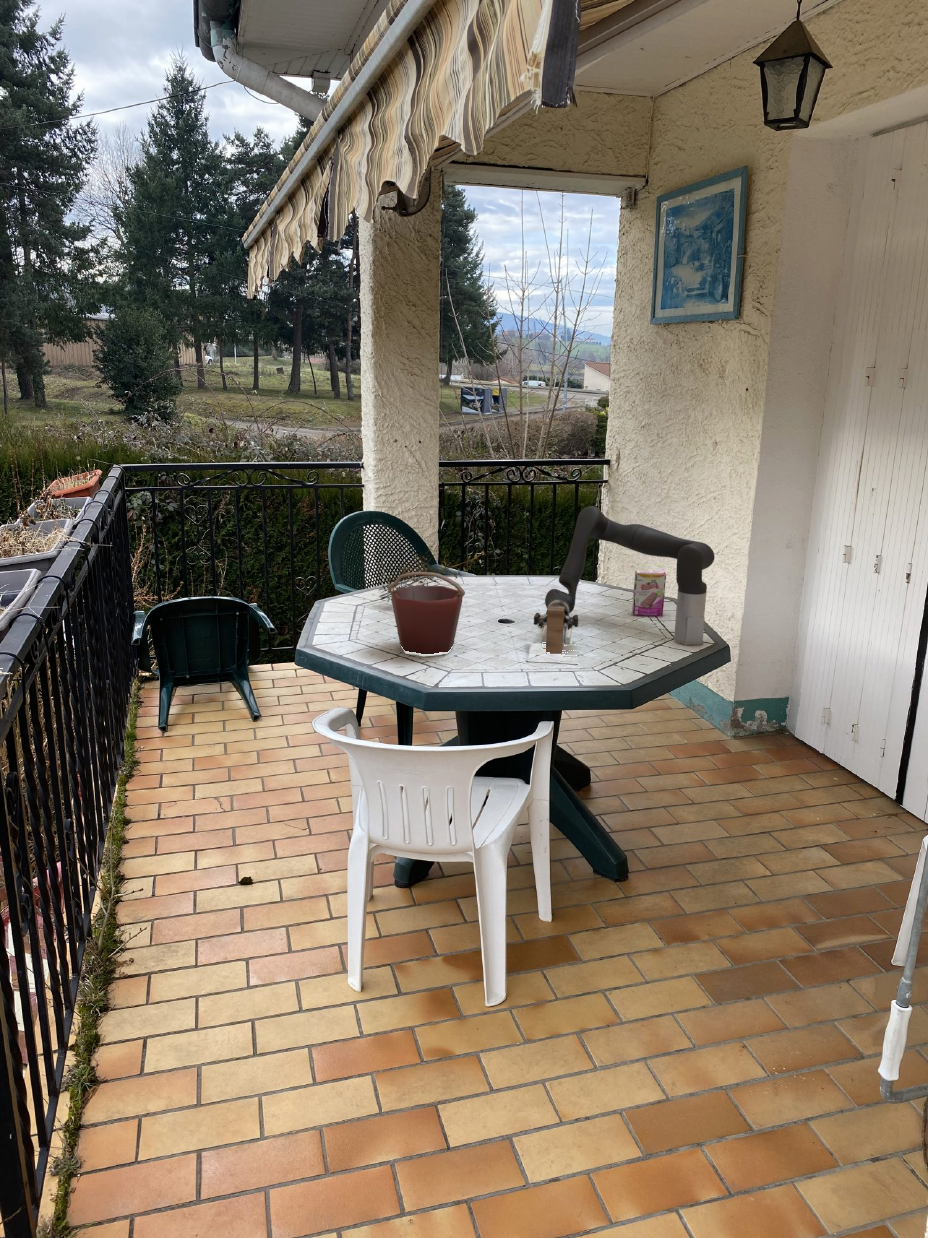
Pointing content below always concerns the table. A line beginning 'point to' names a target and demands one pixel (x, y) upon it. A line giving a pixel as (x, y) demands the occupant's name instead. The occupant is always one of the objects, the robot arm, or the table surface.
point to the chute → (567, 639)
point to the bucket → (426, 614)
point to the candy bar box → (648, 593)
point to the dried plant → (420, 575)
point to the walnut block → (555, 629)
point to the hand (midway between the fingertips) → (555, 625)
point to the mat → (567, 648)
